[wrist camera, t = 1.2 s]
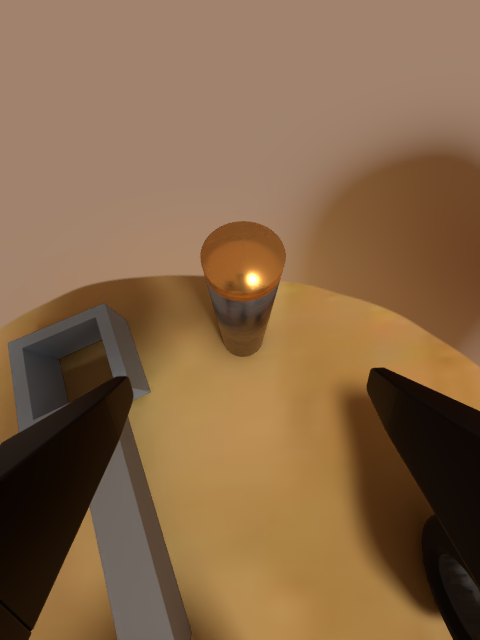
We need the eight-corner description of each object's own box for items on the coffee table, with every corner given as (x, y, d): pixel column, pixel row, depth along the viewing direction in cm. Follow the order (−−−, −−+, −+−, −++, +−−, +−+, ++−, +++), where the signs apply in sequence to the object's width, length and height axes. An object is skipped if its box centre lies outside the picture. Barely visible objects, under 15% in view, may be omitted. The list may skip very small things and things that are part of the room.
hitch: (225, 609, 16) (220, 672, 12) (110, 689, 14) (64, 787, 11) (126, 319, 24) (104, 302, 20) (46, 354, 22) (8, 342, 19)
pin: (248, 364, 22) (256, 307, 10) (214, 342, 23) (183, 264, 11) (270, 331, 23) (300, 243, 11) (237, 311, 24) (231, 210, 12)
